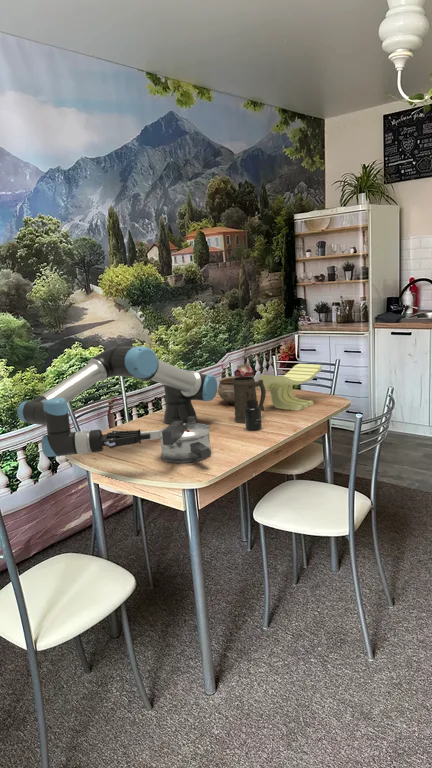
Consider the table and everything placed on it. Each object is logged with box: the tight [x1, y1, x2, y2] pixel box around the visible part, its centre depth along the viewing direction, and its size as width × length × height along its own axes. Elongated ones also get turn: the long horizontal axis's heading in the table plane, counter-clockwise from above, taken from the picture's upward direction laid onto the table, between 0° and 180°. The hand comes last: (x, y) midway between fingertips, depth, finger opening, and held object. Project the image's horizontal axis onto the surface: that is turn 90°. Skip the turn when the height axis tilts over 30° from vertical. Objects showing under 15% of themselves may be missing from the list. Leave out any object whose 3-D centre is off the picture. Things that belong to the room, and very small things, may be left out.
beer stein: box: [233, 377, 267, 424], centre depth 241 cm, size 15×10×20 cm
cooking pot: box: [217, 375, 235, 405], centre depth 276 cm, size 25×19×12 cm
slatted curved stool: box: [257, 363, 322, 411], centre depth 259 cm, size 30×16×18 cm, turn 138°
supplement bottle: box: [244, 399, 262, 432], centre depth 226 cm, size 7×7×12 cm
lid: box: [160, 415, 211, 445], centre depth 196 cm, size 30×19×6 cm, turn 165°
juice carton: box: [233, 363, 255, 379], centre depth 260 cm, size 7×7×22 cm
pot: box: [159, 433, 212, 464], centre depth 197 cm, size 31×18×8 cm, turn 26°
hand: (160, 434), depth 184 cm, fingers closed
